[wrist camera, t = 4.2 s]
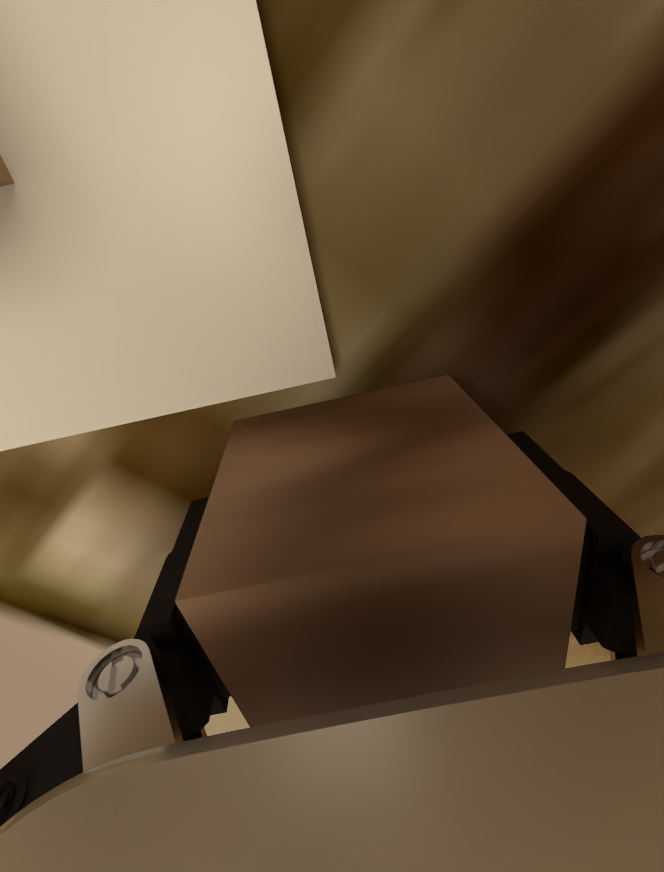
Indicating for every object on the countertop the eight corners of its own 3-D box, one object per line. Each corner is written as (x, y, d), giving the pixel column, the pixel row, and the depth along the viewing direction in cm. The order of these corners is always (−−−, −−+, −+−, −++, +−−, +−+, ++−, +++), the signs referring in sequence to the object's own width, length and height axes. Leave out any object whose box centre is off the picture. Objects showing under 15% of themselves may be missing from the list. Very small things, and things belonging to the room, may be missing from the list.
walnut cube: (447, 373, 11) (586, 518, 6) (457, 534, 14) (555, 729, 8) (234, 419, 11) (174, 601, 6) (289, 568, 14) (282, 780, 9)
